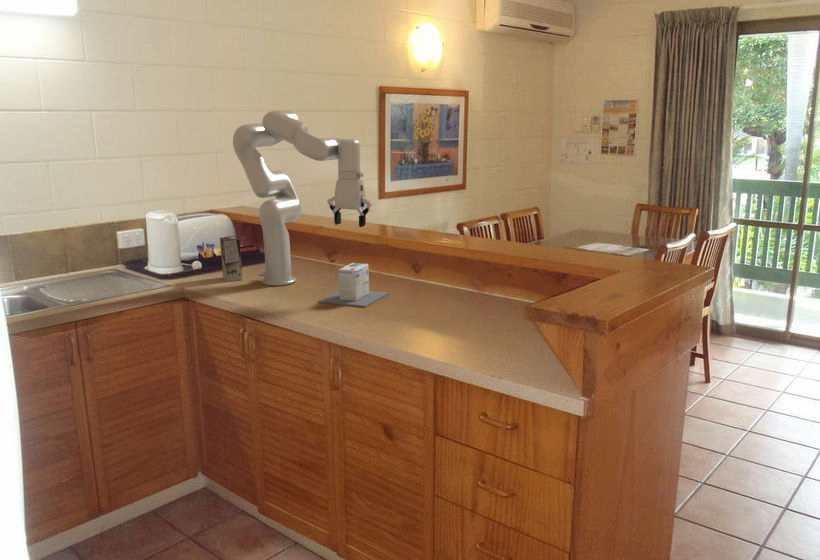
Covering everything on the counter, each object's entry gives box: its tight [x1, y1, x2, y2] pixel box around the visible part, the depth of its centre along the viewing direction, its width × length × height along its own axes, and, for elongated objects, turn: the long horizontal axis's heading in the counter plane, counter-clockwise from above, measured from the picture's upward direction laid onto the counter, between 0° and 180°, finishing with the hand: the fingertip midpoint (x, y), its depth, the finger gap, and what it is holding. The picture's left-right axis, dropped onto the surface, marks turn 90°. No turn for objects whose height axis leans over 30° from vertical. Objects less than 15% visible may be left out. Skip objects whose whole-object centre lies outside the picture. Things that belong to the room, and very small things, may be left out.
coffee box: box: [219, 235, 244, 282], centre depth 266 cm, size 9×6×16 cm
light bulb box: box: [337, 262, 370, 301], centre depth 235 cm, size 11×7×11 cm, turn 158°
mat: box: [317, 290, 389, 309], centre depth 236 cm, size 18×18×1 cm
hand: (349, 225), depth 238 cm, fingers open, 9 cm apart
